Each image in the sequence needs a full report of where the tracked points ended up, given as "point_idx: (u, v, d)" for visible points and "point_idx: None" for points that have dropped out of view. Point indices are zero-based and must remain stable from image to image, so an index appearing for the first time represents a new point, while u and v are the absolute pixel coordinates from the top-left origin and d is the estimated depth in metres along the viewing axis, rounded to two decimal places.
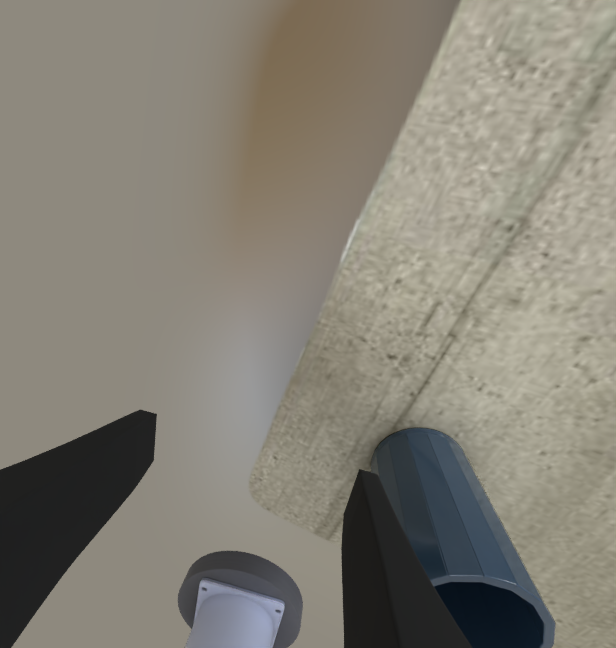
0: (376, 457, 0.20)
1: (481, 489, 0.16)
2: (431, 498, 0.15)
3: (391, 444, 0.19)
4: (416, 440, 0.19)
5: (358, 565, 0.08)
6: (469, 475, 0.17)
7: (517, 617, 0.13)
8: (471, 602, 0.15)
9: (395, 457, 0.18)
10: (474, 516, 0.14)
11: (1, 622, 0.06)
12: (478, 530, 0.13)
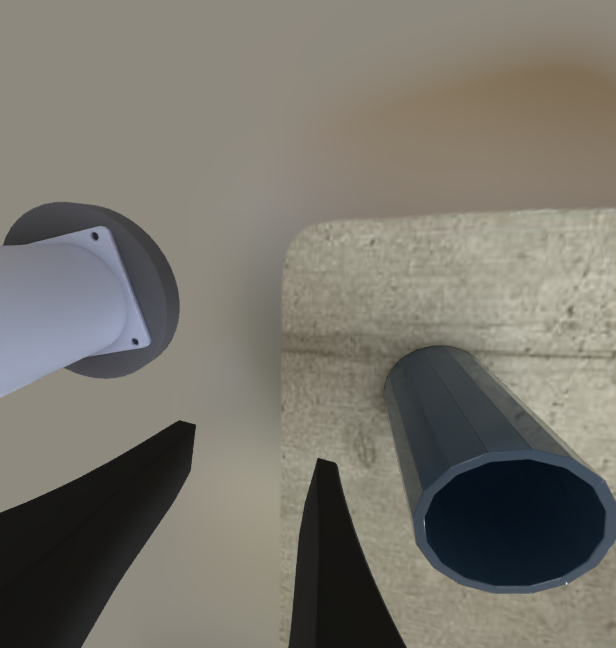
0: (445, 350, 0.17)
1: None
2: None
3: (473, 357, 0.17)
4: None
5: (306, 550, 0.08)
6: None
7: (490, 552, 0.12)
8: (433, 509, 0.13)
9: (482, 367, 0.16)
10: None
11: (64, 642, 0.06)
12: None
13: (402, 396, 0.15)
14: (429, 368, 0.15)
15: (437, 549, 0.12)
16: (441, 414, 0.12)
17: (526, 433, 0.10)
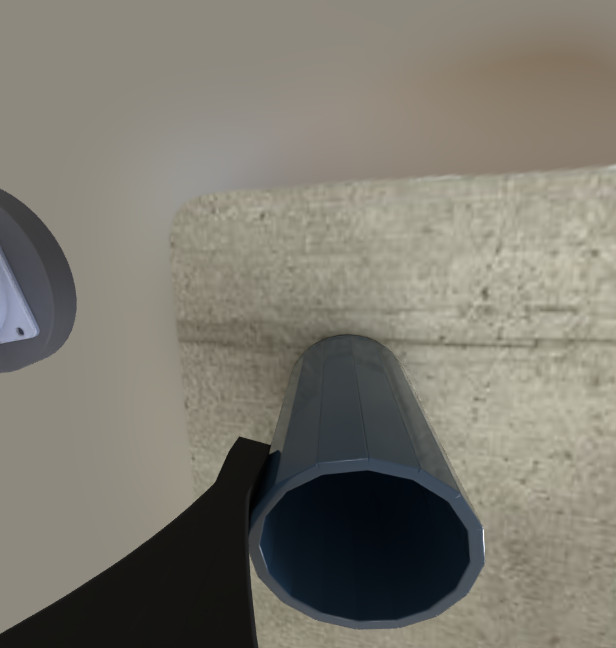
0: (348, 339, 0.15)
1: None
2: (425, 418, 0.11)
3: (378, 347, 0.15)
4: (402, 369, 0.15)
5: None
6: None
7: (364, 575, 0.10)
8: (311, 525, 0.11)
9: (382, 357, 0.14)
10: None
11: None
12: None
13: (288, 392, 0.13)
14: (320, 359, 0.13)
15: (293, 577, 0.09)
16: (303, 414, 0.10)
17: (377, 436, 0.08)
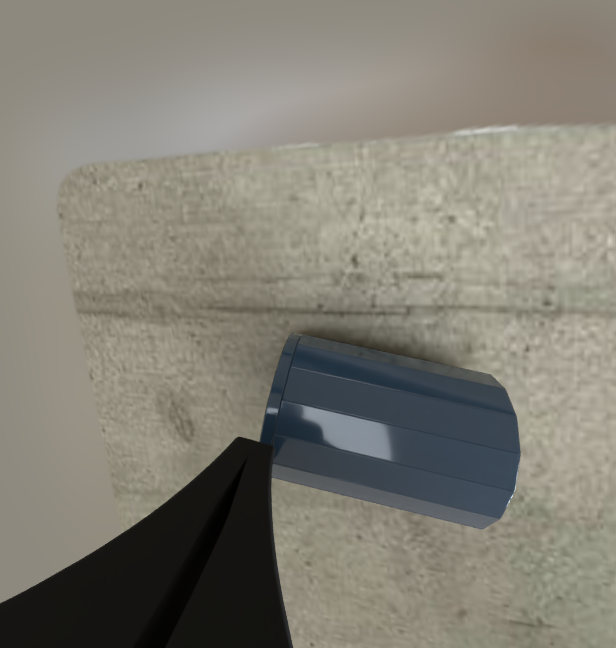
0: (305, 347, 0.12)
1: None
2: None
3: (312, 336, 0.14)
4: None
5: None
6: None
7: None
8: None
9: (337, 342, 0.14)
10: None
11: None
12: None
13: (356, 441, 0.11)
14: (345, 384, 0.11)
15: None
16: (445, 420, 0.11)
17: (479, 380, 0.12)
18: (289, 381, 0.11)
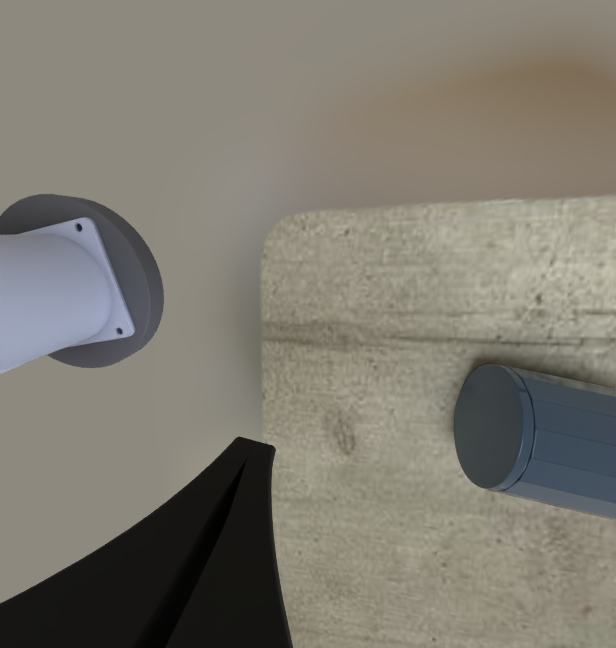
0: (530, 380, 0.14)
1: None
2: None
3: None
4: None
5: None
6: None
7: None
8: None
9: (537, 372, 0.16)
10: None
11: None
12: None
13: (604, 463, 0.13)
14: (583, 414, 0.13)
15: None
16: None
17: None
18: (536, 412, 0.13)
